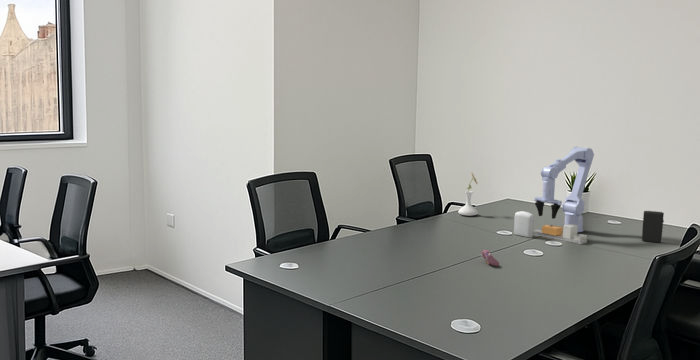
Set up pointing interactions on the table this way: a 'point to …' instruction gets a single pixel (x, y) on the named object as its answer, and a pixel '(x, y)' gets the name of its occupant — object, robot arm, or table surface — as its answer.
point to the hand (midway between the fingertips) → (547, 217)
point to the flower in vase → (468, 208)
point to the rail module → (569, 231)
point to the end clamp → (552, 229)
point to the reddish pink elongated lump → (489, 258)
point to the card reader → (652, 226)
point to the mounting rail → (577, 238)
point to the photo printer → (524, 224)
